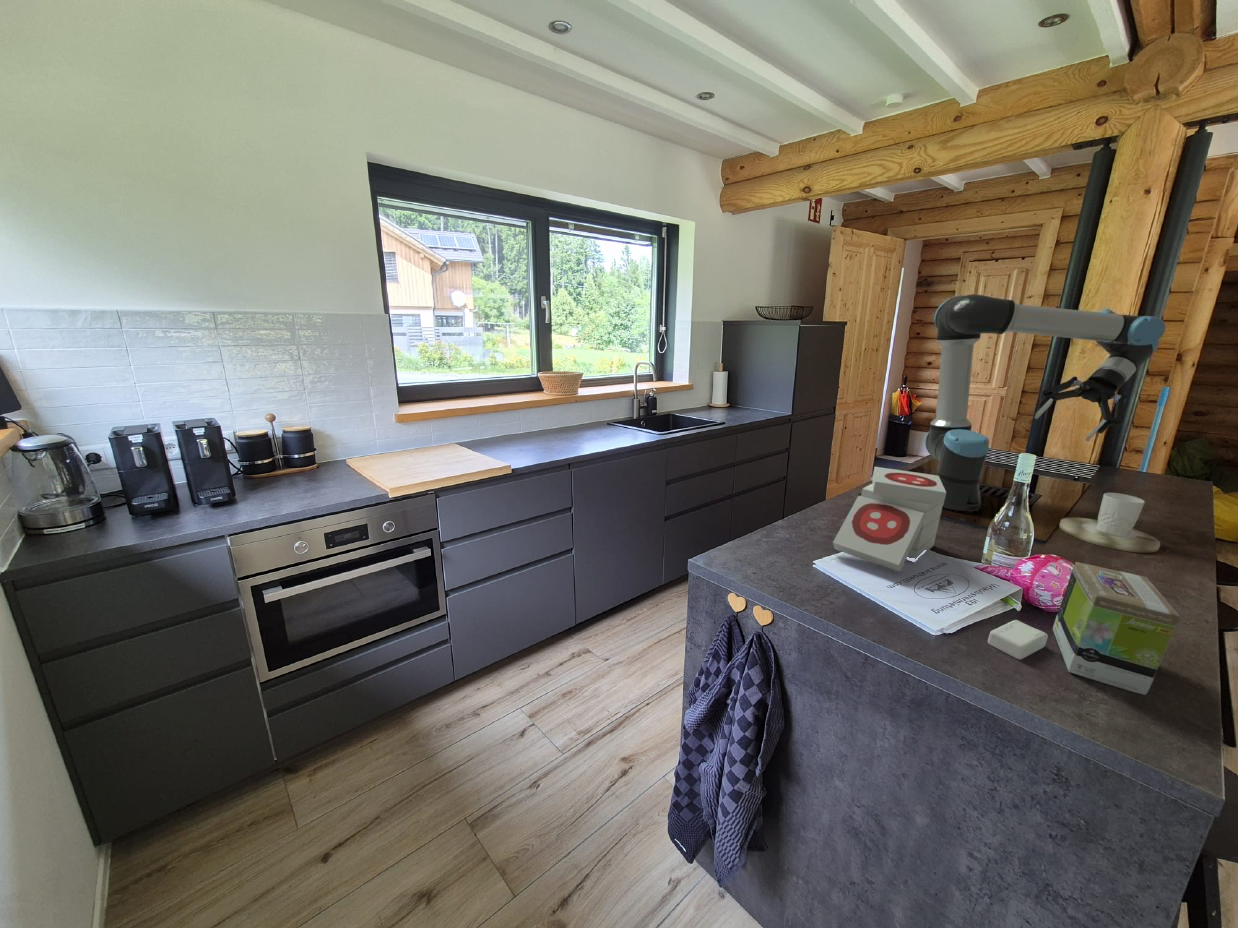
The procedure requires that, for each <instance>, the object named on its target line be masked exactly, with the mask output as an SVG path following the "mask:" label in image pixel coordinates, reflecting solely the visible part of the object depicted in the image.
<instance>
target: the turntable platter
mask: <svg viewBox="0 0 1238 928" xmlns="http://www.w3.org/2000/svg"><path fill="white" fill-rule="evenodd" d="M1097 522H1098V519H1093V518H1087V517H1086V518H1085V517H1075V516H1074V517H1063V518H1061V519H1060V522H1059V526H1058V527H1059V529H1060V530H1061V531H1062V532H1064V533H1066V534H1068V535H1069V536H1071V537H1074V538H1076V539H1079V540H1081V541H1085V542H1088V543H1090V544H1093V545H1097V546H1100V547H1104V548H1109V549H1113V550H1119V551H1123V552H1129V553H1130V552H1131V553H1138V554H1139V553H1141V554H1143V553H1144V554H1149V553H1156V552H1158V551H1159V549H1160V547H1161V542H1160V541H1159V540H1158V539H1157V538H1155V537H1154V536H1152V535H1150V534H1147V533H1146V532H1143V531H1140V530H1137V529H1135V528H1133V529H1132V531H1131V533H1130V536H1127V537H1121V536H1115V535H1110V534H1107V533H1104V532H1101V531H1099V530H1097V529H1096V526H1097Z"/></svg>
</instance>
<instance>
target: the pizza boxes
mask: <svg viewBox="0 0 1238 928" xmlns="http://www.w3.org/2000/svg"><path fill="white" fill-rule="evenodd" d="M871 478H872V483H870V484H869V485H866V486H865V487H863V488H862V489H861V493H860V495H858V496H857V497H856V499H855V501H854V503H853V505H852V507H851V508H850V510H849V512H848V514H847V516H846V518H845V520H844V521H843V523H842V524H841V526H840V528H839V530H838V532H837V533H836V536H835V538H834V539H833V541H832V544H833V547H834V550H837V551H839V552H842V553H844V554H847V555H850V556H853V557H856V558H859V559H861V560H864V561H867V562H870V563H873V564H876V565H879V566H881V567H885V568H887V569H890V570H893V571H896V572H898V573H899V572H901V570H902V568H903V567H904V564H905V563H906V561H907V560H906V558H907V557H909V558H915V559H916V558H917V557H918V556H919V555H920V554H921V553H922V552H923V551H924V550H928V551H929V550H931V548H933V547H934V546H935V545H934V544H935V541H936V535H937V533H938V527H939V523H940V520H941V514H942V511H943V508H942V507H943V504H944V500H945V496H946V491H945V489H944V486H943V484H942V482H941V480H940V478H939V476H937V475H935V474H929V473H921V472H915V471H908V470H901V469H894V468H885V467H879V466H874V468H873V472H872V477H871Z"/></svg>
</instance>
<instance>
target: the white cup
mask: <svg viewBox="0 0 1238 928" xmlns="http://www.w3.org/2000/svg"><path fill="white" fill-rule="evenodd" d="M1145 503H1146V502H1145V500H1144V499H1142V498H1139V497H1137V496H1133V495H1129V494H1124V493H1118V492H1105V493H1103V495H1102V500H1101V504H1100V508H1099V512H1098V516H1097V520H1098V522H1097V526H1096V529H1097V530H1099V531H1101V532H1104V533H1107V534H1110V535H1115V536H1121V537H1127V536H1130V533H1131V531H1132V529H1134V527H1135V525H1136V523H1137V521H1138V519H1139V517H1140V514H1141V512H1142V509H1143V508H1144V505H1145Z"/></svg>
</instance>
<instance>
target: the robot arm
mask: <svg viewBox="0 0 1238 928" xmlns="http://www.w3.org/2000/svg"><path fill="white" fill-rule="evenodd" d="M934 325H935V327H936V328H937V332H936V342H937V343H938V344H940V346H941V351H940V352H941V353H940V364H939V374H938V375H939V377H938V378H939V379H938V386H937V387H938V388H937V389H938V390H937V399H936V400H937V401H936V415H935V418H934V419H933V420H932V421H930V424H929V431H928V432H927V433H926V436H925V439H924V445H925V448H926V451H927V452H928V453H929V455H930V456H931V457H932V458H933V459H935V460H937V461H938V465H937V469H936V475H937V476H939V478H940V480H941V482H942V484H943V486H944V489H945V491H946V496H945V500H944V504H943V507H944V508H949V509H956V510H966V511H968V510H970V511H971V510H976V509H979V508H980V509H981V506H982V500H981V491H980V483H981V478H982V474H983V470H984V467H985V464H986V458H987V455H988V453H989V447H990V446H989V445H990V440H989V438H988V437H987V436H986V435H984V434H982V433H979V432H976V431H974V430H972V426H973V425H972V424H973V423H972V422H971V421H970V420H968V410H969V409H968V408H969V398H970V389H971V388H970V387H971V376H972V367H973V357H974V346H975V344H976V343H977V342H978V341H979V340H980V339H981V335H982V334H996V335H1004V334H1005V333H1007V332H1008V333H1009V332H1011V333H1019V334H1027V335H1029V334H1030V335H1038V336H1047V337H1049V336H1050V337H1057V338H1067V339H1076V340H1086V341H1094V342H1096V343H1097V344H1098V345H1099V346H1100V347H1102V349H1104V351H1105V352H1107V353H1108V354H1109V356H1108V357H1107V359H1105V360H1104V361H1103V362H1102V364H1100V365H1099V366H1098V367H1097V369H1096V370H1095V371H1094V372H1093V373H1091V375H1090V376H1089V377H1087V379H1086V380H1084V381H1081V380H1079V379H1078V377H1077V376H1073V377H1071V379H1069V380H1066V381H1064V382H1062V383H1060V384H1057V385H1054V386H1052V387H1048V388H1047V389H1045V390H1042V392H1041V394H1040V398H1042V399H1043V400H1042V401H1041V402H1040V404H1039V405H1038V410H1037V412H1035V416H1034V418H1033V419H1036V420H1038V419H1039V418H1040V417H1041V416H1042V414H1044V412H1046V410H1048V408H1050V406H1051V405H1052V404H1053V402H1056V401H1062V400H1065V399H1071V398H1080V397H1081V398H1082V399H1083V400H1086V401H1089V402H1091V403H1097V405H1098V407H1099V409H1100V412H1101V416H1102V420H1101V421H1100V422H1099V423H1098V424H1097V425H1096V427H1095V428H1094V429H1092V430H1091V432H1090V433H1089V434H1088V435H1087V436H1086V438H1085V441H1087V442H1090V441H1091V439H1092V438H1093V437H1094V436H1095V435H1096V434H1097V433H1098V434H1103V433H1104V432H1105V431H1106V430H1107V429H1108V428H1109V427H1114V428H1119V427H1120V426H1121V425H1122V423H1123V418H1124V417H1123V416H1124V406H1125V405H1124V403H1125V401H1126V399H1127V398H1128V395H1127V394H1122V395H1120V394H1117V393H1116V392H1117V391H1119V390H1120V388H1121V387H1123V385H1124V384H1125V382H1127V381H1128V380H1129V379H1130V378H1131V377H1132V375H1134V374H1135V372H1136V371H1138V370H1139V368H1140V367H1141V366H1143V364H1145V362H1146V361H1147V360H1148V359H1150V358H1151V357H1152V355H1153V354H1154V353H1155V352H1156V350H1158V347H1159V345H1160V342H1159V341H1160V339H1161V338H1163V336H1164V333H1165V332H1166V324H1165V322H1164V320H1163V319H1161V318H1159V317H1157V316H1151V315H1142V316H1141V315H1131V314H1130V315H1129V314H1119V313H1117V312H1114V311H1113V310H1112V309H1110V308H1104V309H1100V310H1099V311H1089V310H1079V309H1070V308H1069V309H1068V308H1057V307H1048V306H1039V305H1038V306H1037V305H1029V304H1027V305H1026V304H1017V302H1016V301H1015V300H1013V299H1005V298H1000V297H993V296H988V295H984V294H983V295H982V294H975V293H973V294H971V293H970V294H966V295H955V296H953V297H951V298H949V299H947V300H945V301H944V302H942V303H941V304H940V305H939V306H938V308H937V309H936V312H935V313H934ZM1076 386H1078V387H1076ZM1074 387H1076V388H1074ZM1070 388H1074V389H1070ZM1068 389H1070V390H1068ZM1112 399H1113V400H1114V403H1115V408H1114V409H1115V410H1114V418H1113V415H1112V412H1111V409H1110V405H1109V400H1112Z"/></svg>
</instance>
